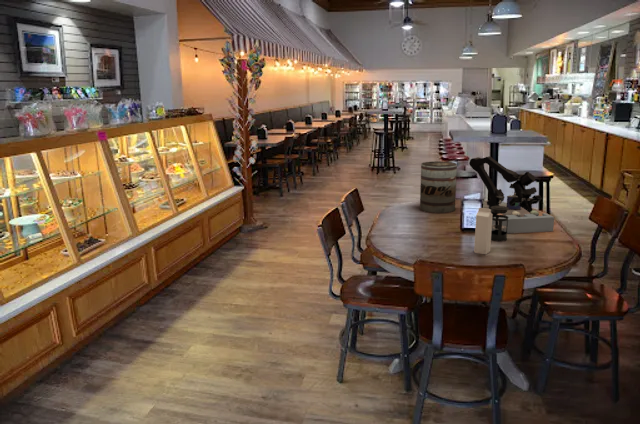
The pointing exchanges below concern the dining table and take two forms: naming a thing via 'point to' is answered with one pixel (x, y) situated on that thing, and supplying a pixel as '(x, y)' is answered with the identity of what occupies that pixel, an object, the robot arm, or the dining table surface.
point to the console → (528, 223)
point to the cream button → (516, 213)
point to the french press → (499, 222)
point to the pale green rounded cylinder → (534, 212)
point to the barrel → (438, 187)
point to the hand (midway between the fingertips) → (531, 212)
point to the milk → (483, 231)
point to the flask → (515, 203)
